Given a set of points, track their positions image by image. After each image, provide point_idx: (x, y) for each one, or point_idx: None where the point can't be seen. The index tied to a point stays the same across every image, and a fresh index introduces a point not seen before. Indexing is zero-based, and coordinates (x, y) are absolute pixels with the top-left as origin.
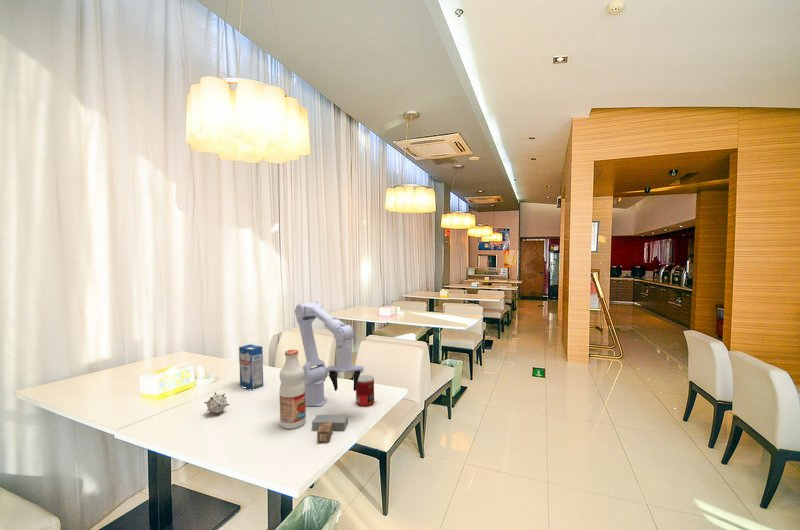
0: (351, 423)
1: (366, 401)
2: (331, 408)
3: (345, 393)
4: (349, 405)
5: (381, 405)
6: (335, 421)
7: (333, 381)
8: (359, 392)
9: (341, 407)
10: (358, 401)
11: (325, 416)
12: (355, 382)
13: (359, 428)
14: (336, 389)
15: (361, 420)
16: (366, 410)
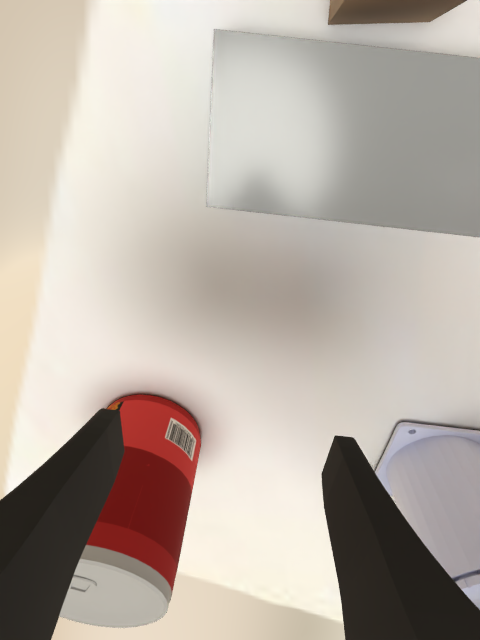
0: (186, 182)
1: (124, 414)
2: (341, 394)
3: (273, 518)
4: (237, 414)
5: (54, 395)
6: (308, 67)
7: (417, 566)
8: (153, 472)
9: (281, 399)
10: (178, 424)
11: (405, 197)
12: (18, 502)
13: (105, 85)
14: (334, 452)
15: (123, 223)
16: (124, 351)
